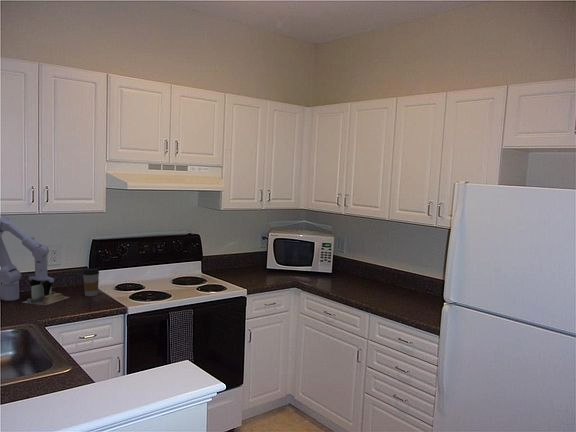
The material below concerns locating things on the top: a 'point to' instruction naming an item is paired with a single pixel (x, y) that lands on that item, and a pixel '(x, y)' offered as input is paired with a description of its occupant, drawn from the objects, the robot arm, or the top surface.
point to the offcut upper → (53, 296)
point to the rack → (39, 300)
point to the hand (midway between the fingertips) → (41, 294)
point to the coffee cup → (91, 281)
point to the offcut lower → (54, 300)
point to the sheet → (39, 291)
